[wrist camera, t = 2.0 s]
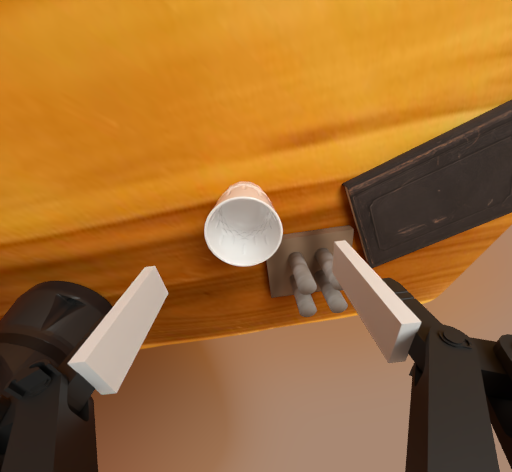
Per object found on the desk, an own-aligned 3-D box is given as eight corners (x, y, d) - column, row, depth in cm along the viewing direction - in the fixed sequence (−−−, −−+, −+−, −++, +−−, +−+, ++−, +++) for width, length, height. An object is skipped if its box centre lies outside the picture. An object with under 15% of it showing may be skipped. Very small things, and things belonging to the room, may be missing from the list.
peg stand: (270, 291, 36) (276, 332, 28) (263, 237, 30) (268, 270, 23) (343, 281, 36) (369, 320, 28) (349, 225, 30) (383, 254, 22)
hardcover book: (504, 203, 30) (523, 207, 28) (363, 261, 34) (371, 268, 32) (518, 93, 23) (544, 89, 21) (339, 182, 27) (347, 186, 25)
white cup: (281, 192, 27) (297, 218, 18) (256, 235, 30) (259, 276, 21) (231, 166, 25) (222, 181, 16) (209, 215, 28) (193, 250, 19)
